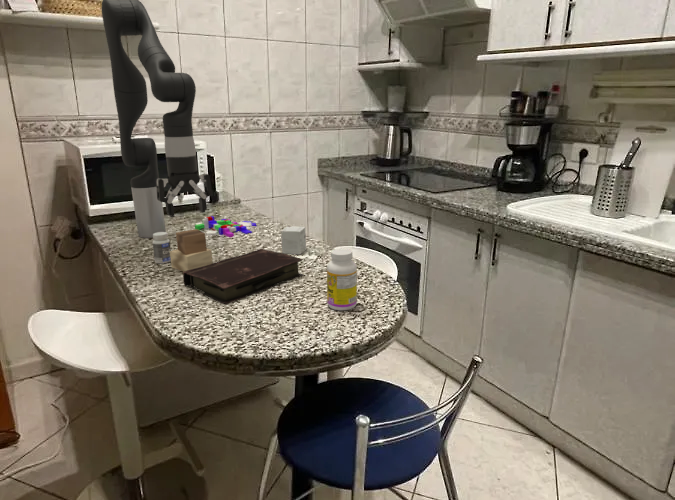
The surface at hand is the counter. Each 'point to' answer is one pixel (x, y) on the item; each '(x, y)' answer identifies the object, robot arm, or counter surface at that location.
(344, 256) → the supplement bottle
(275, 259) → the diary
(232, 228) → the building block set
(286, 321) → the counter surface
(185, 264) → the maple block
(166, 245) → the pill bottle
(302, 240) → the skincare box
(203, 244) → the walnut block
